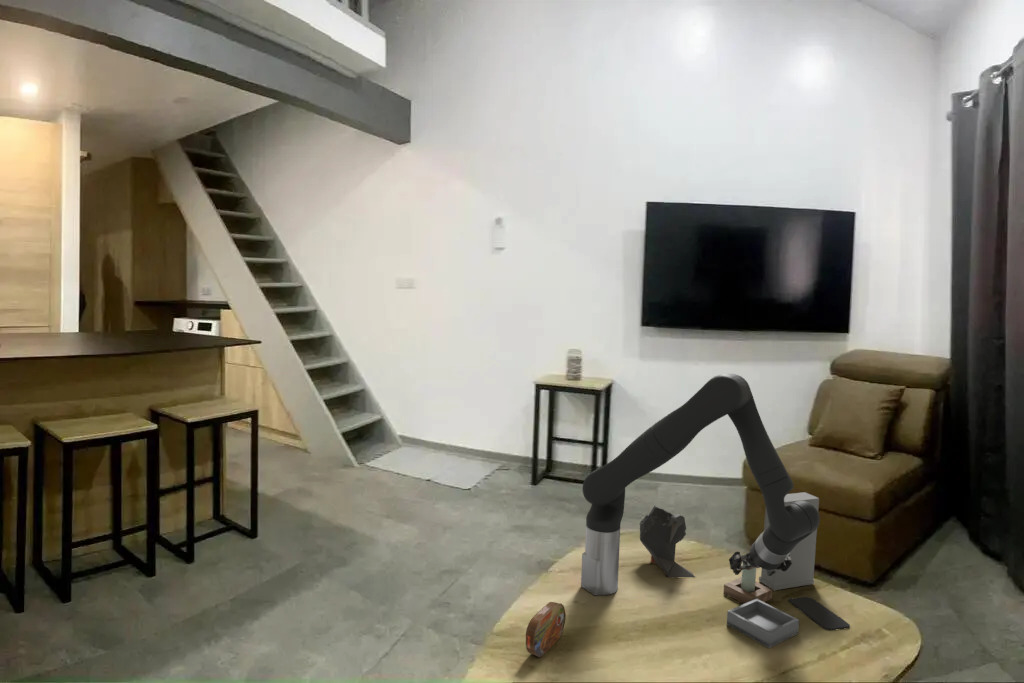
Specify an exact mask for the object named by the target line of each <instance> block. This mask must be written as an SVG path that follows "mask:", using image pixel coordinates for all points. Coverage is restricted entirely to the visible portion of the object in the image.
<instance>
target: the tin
mask: <svg viewBox="0 0 1024 683" xmlns="http://www.w3.org/2000/svg"><path fill="white" fill-rule="evenodd" d="M566 616H567V615H566V609H565V606H564V604H563V603H558V602H556V601H555V602H554V601H549V602H548V603H546V604H545V605H544V606H543V607H542V608H541V609H540V610H539V611H538V612H536V614H535V615H534V616H532V618H531V619H530V620H529V622H528V625H527V627H526V631H525V648H526V651H527V653H529V654H531V655H534V656H535V657H538V658H541V657H543V656H544V655H545V654H546V653H547V652H548V651H549V650H550V649H551V648H553V646H554V645H555V644H556V642H558V641H559V640H560V638H561V636H562V634H563V632H564V628H565V625H566Z"/></svg>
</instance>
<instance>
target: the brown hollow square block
mask: <svg viewBox="0 0 1024 683" xmlns="http://www.w3.org/2000/svg"><path fill="white" fill-rule="evenodd" d="M741 578H742V576H741V577H740V578H737V579H734V580H731V581H729V582H727V583H726V582H725V583H723V594H724V593H725V594H724V595H726V596H728V595H729V596H728V597H730V598H732V599H734V600H737V601H738V602H739V603H741V604H745V603H747V602H750V601H752V600H754V599H758V600H760V601H762V602H764V603H766V602H767V601H770V600H772V598H773V590H772V589H771V588H769V587H768V586H766V585H765V586H764V584H762V583H759V582H757V581H755V591H754V592H751V593H749V592H747V591H745V590H743V589H741Z"/></svg>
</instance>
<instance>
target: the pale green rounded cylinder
mask: <svg viewBox="0 0 1024 683" xmlns="http://www.w3.org/2000/svg"><path fill="white" fill-rule="evenodd" d="M748 565H749V566H750V564H749V563H748ZM741 566H743V562H742V564H741ZM756 575H757V568H753V569H750V570H746V569H743V570H742V571H741V577H742V578H741V577H740V578H741V589H743V590H745V591H747V592H749V593H751V592H754V591H755V582H756V577H757V576H756Z"/></svg>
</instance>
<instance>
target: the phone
mask: <svg viewBox="0 0 1024 683" xmlns="http://www.w3.org/2000/svg"><path fill="white" fill-rule="evenodd" d="M787 601H788V603H789V604H791V605H792V606H793V607H795V608H796V609H798V610H799V611H800V612H802V614H804V615H805V616H806V617H807V618H808V619H810V620H811V621H812V622H814V623H815V624H817V625H818V626H819V627H820V628H822V630H826V631H837V630H836V629H840V630H845V629H844V628H848V629H850V628H849V627H851V625H850V624H849V623H848V622H847V621H846V620H844V619H843V618H841V617H840V616H838V615H837V614H835V613H834V612H833V611H832V610H830V609H829V608H827V607H825V606H824V605H823V604H821V602H819V601H817V600H816V599H815V598H813V597H811V596H800V597H799V596H798V597H789V598H788V599H787Z"/></svg>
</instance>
